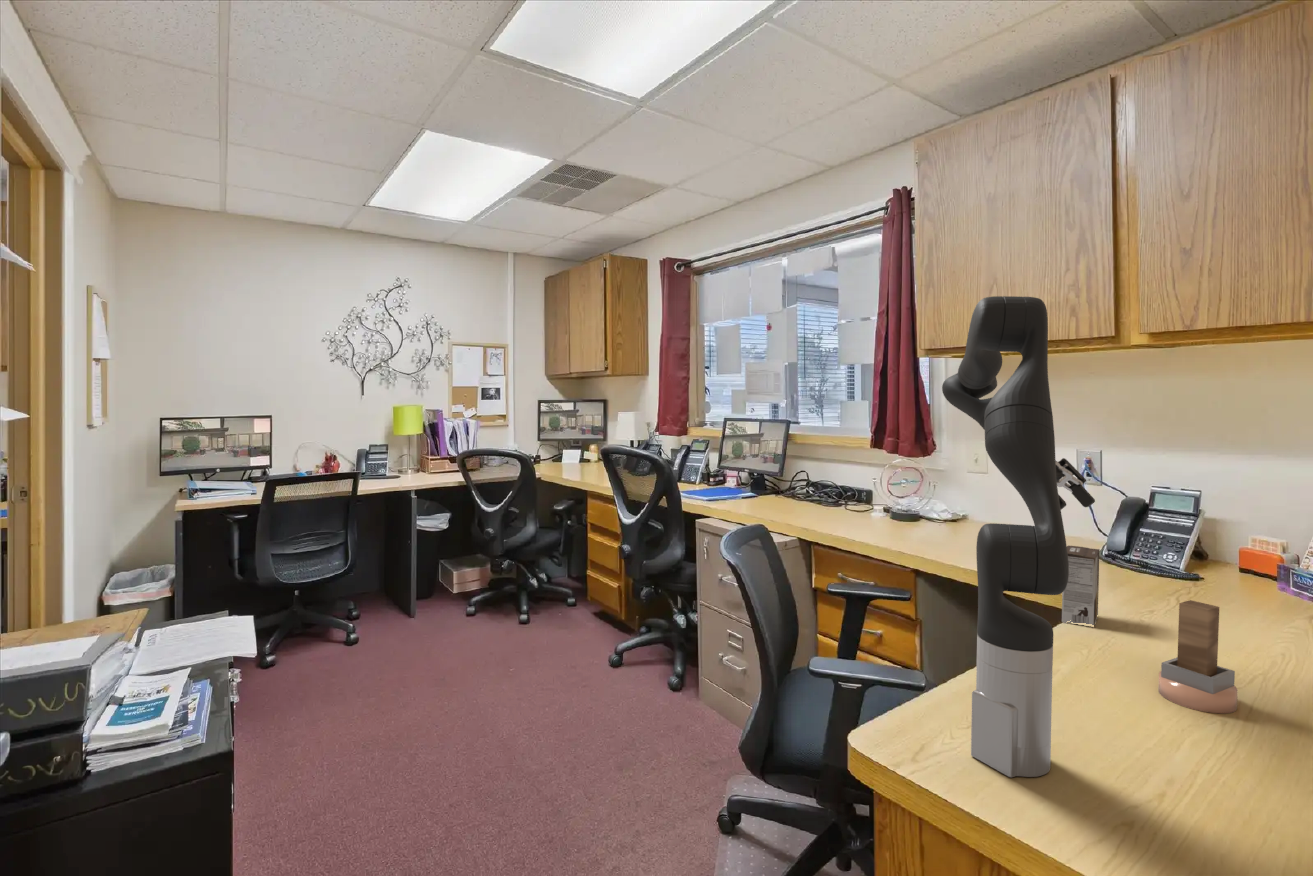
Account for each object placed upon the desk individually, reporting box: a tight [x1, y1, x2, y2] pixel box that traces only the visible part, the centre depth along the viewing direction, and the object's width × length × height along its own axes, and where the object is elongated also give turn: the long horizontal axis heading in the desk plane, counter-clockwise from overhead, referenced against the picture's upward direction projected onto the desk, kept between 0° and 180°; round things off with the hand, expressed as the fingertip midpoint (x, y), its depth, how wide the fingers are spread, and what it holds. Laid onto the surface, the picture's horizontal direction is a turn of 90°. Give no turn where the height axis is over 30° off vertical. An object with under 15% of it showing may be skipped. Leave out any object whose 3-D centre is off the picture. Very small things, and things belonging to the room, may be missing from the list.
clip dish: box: [1157, 657, 1239, 714], centre depth 105 cm, size 10×10×6 cm
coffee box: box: [1061, 545, 1100, 626], centre depth 143 cm, size 9×6×16 cm
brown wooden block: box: [1176, 599, 1220, 677], centre depth 105 cm, size 4×4×13 cm
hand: (1076, 506), depth 116 cm, fingers open, 8 cm apart
